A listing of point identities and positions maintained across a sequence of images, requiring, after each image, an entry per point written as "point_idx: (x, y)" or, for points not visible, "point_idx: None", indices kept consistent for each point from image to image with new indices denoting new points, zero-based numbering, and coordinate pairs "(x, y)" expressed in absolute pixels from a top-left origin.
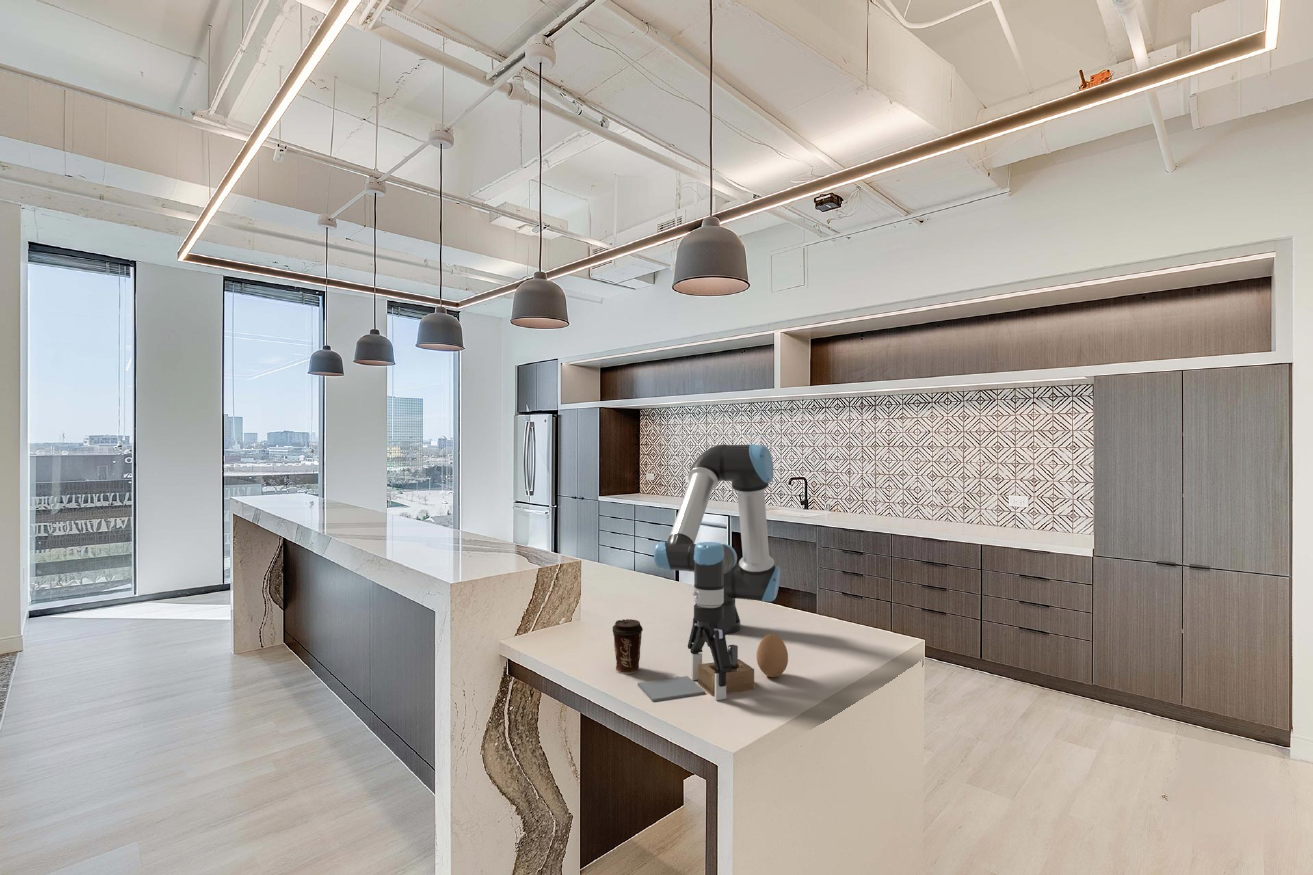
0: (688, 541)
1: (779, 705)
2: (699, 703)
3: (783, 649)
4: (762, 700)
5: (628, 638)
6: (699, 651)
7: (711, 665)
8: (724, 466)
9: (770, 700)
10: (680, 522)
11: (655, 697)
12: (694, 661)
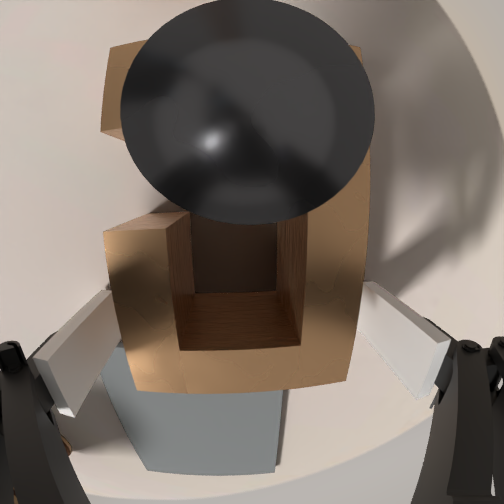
0: None
1: (462, 119)
2: (351, 379)
3: None
4: (425, 140)
5: None
6: (32, 377)
7: (171, 325)
8: None
9: (431, 113)
10: None
11: (266, 467)
12: (86, 382)
